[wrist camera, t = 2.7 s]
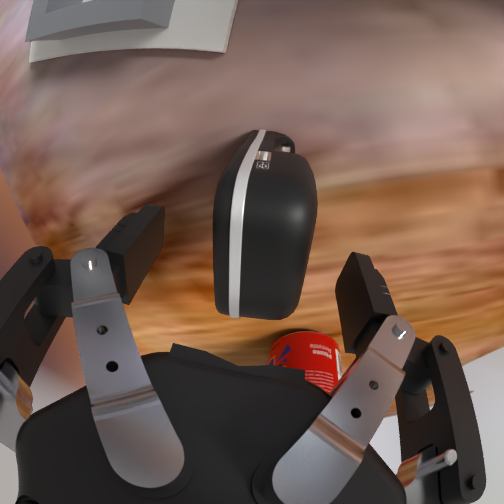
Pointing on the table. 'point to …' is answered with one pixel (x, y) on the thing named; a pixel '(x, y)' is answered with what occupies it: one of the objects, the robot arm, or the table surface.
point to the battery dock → (181, 35)
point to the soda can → (309, 357)
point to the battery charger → (263, 228)
